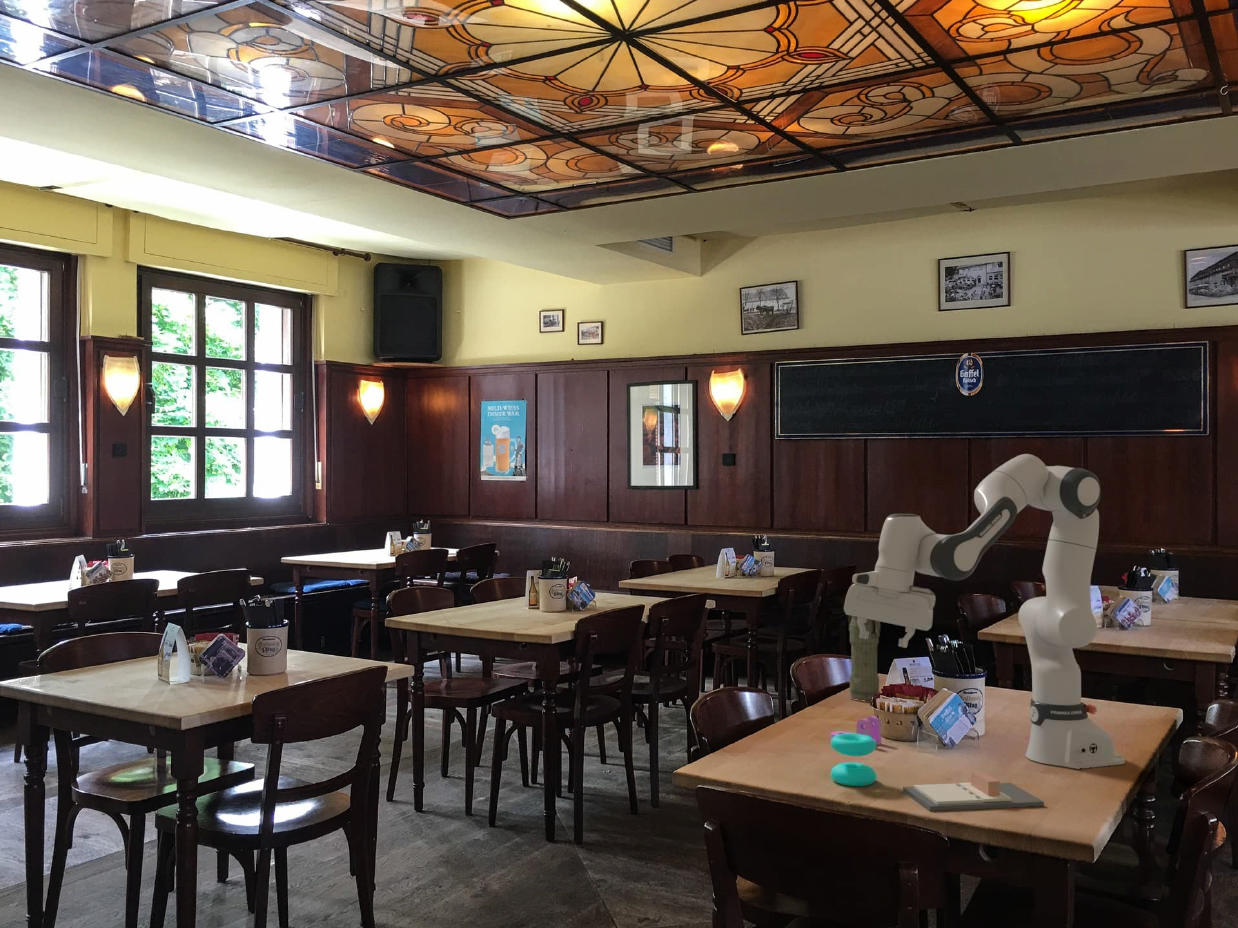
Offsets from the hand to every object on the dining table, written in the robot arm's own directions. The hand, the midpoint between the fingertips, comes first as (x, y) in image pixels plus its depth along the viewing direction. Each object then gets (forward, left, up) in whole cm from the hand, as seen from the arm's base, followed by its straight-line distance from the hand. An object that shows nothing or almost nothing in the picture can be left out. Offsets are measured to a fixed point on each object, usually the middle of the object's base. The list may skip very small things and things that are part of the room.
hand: (882, 642), depth 242 cm
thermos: (-28, -88, -31) cm, 97 cm away
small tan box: (-16, +15, -30) cm, 38 cm away
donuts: (+7, -1, -32) cm, 32 cm away
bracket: (-6, -36, -32) cm, 49 cm away
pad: (-13, +15, -31) cm, 37 cm away
